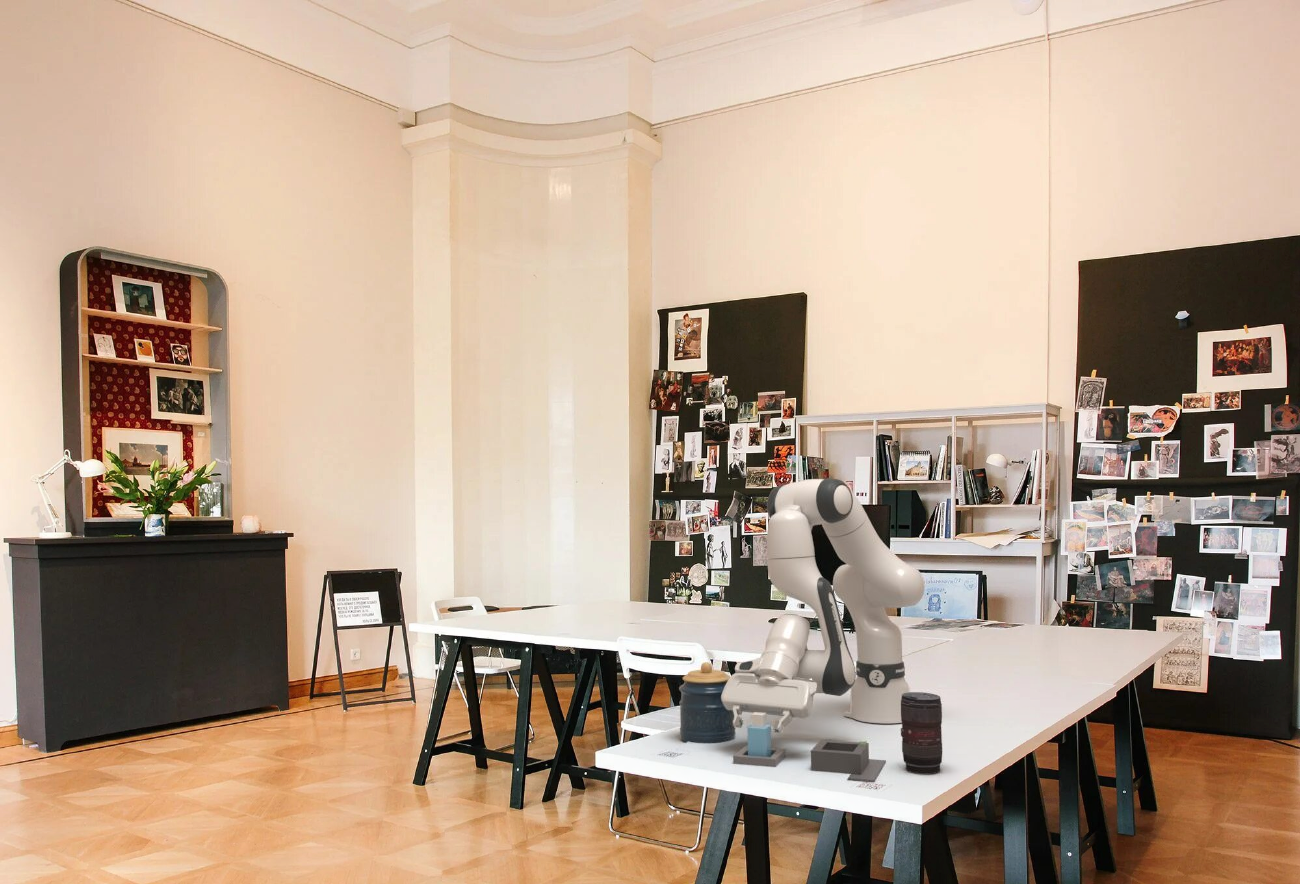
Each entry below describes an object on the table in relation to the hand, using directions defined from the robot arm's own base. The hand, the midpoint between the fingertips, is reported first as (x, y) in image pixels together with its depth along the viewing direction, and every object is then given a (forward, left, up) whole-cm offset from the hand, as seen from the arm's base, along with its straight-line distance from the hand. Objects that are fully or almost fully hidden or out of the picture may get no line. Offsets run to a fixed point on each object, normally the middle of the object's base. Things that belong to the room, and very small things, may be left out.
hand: (756, 728), depth 211 cm
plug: (0, +1, -6) cm, 6 cm away
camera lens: (-4, +34, -7) cm, 35 cm away
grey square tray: (0, +1, -7) cm, 7 cm away
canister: (-17, -16, -7) cm, 25 cm away
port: (0, +18, -7) cm, 19 cm away
